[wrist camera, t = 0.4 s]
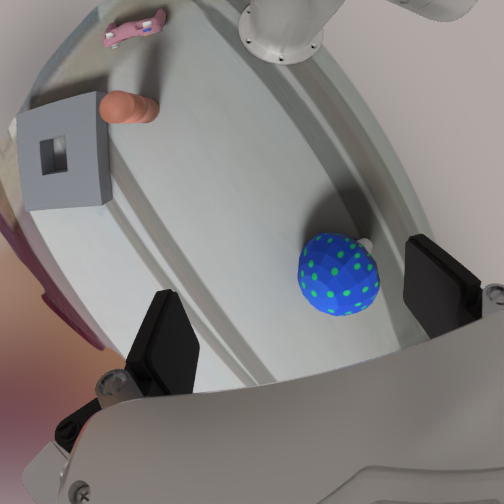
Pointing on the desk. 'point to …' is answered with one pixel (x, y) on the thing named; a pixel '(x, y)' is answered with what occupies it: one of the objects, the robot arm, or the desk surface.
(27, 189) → the socket plate
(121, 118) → the dowel
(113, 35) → the video game controller
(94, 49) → the desk surface
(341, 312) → the mushroom
